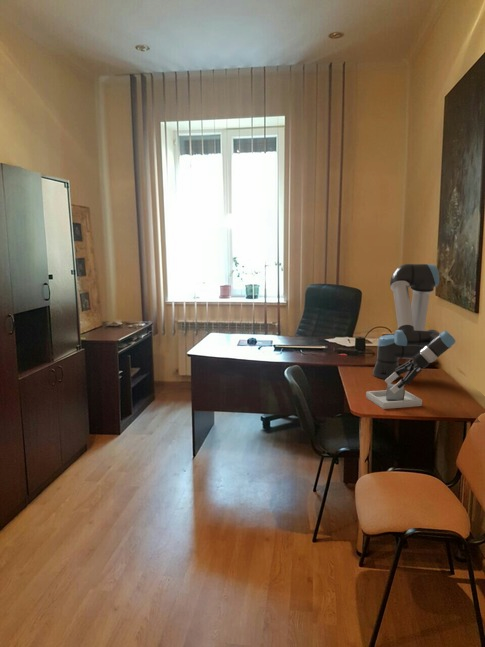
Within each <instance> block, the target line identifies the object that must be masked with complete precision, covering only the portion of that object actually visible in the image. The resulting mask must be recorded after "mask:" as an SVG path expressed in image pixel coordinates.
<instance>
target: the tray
mask: <svg viewBox="0 0 485 647" xmlns="http://www.w3.org/2000/svg"><path fill="white" fill-rule="evenodd" d="M386 392H387V389H385V390H371V391H370V390H368V391H366V392H365V398H366V399H367V400H369V401H371V403H373V404H375V405H376V406H378V407H380V408H381V409H383V410H387V409H389V410H390V409H397V408H398V409H399V408H412V407H414V408H415V407H422V406H423V399H422V398H420V397H417V396H416V395H415V394H412V393H411V392H409V391H407V390H405V396H404V400H402V401H396V400H386Z"/></svg>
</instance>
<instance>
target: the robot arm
mask: <svg viewBox="0 0 485 647" xmlns="http://www.w3.org/2000/svg"><path fill="white" fill-rule="evenodd" d="M389 282H390V283H389V285H390V290H391V291H392V294H393V302H394V308H395V315H396V324H397V330H395V331H394V334H385V335H382V336H380V337H379V338H378V340H377V352H376V353H377V354H376V362H375V365H374V368H373V370H372V375H373V377H376V378H379V379H383V380H384V382H385V383H386V384H392V383H393V382H394V381H395V380H397V379H400V378H401V375H402V374H405V375H404V376H403V378H401V379H400V380H399V381H398V382H397V383H395V384H394V386H393V387H392V388H391V389H390V390H391V391H392V392H393V393H394V394H395V393H396V392H397V391H398V390H399V389H401V388H402V387H403V386H404V387H405V386H409V385H410V384H411V383H412V382H413V380H414V379H415V378H417V376H418V375H419V373H421V371H422V369H424V370H425V369H426V368H427V367H429V366H430V364H431V363H434V362H435V361H437V359H438V358H439V357H440V356H442V355H443V354H444V353H445V352H447V351H448V350H449V349H450V348H451V347H452V346H453V345H455V344H456V339H455V337H454V336H452V335H451V333H450V332H448V331H447V330H443V331H441V332H439V331H438V330H436V329H427V330H425V329H426V322H427V316H428V310H429V309H428V308H429V301H430V295H431V293H433V292H434V290H435V288H437V287H438V286H439V283H440V273H439V269H438V267H437V266H436V265H435V264H428V263H404V264H401V265H400V266H398V267H397V268H396V269H394V271H393V273H392V275H391V277H390V280H389ZM409 289H410V290H411V291H412V297H411V298H410V293H409V292H410V290H409ZM399 359H404V360H405V359H406V360H407V359H409V360H408V361H406V362H404V363H403V364H401V365H399Z"/></svg>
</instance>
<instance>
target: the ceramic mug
mask: <svg viewBox="0 0 485 647" xmlns="http://www.w3.org/2000/svg"><path fill="white" fill-rule="evenodd" d="M386 384H387V383H386ZM394 385H395V384H393V383H390V384H387V385H386V390H387V392H386V400H396V401H402V400H404V396H405V391H406V388H405V385H404V386H403V387H402V388H401V389H399V390H398V391H397V392H396V393H395V394H394V393H393V392H392V391H391V390H390V389H391V388H392V387H393V386H394Z"/></svg>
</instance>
